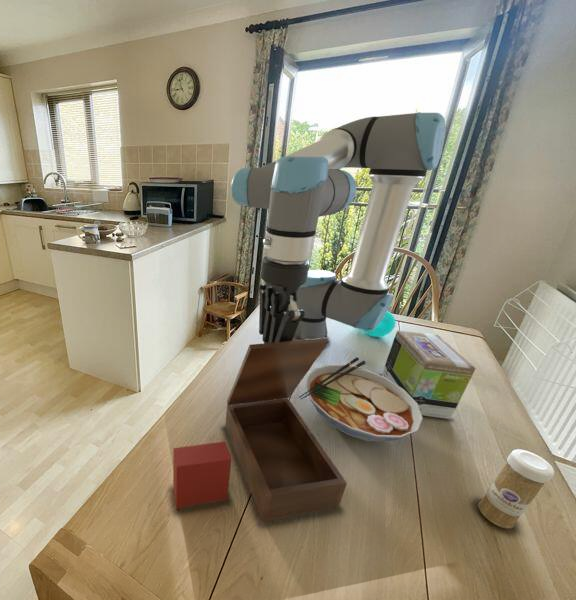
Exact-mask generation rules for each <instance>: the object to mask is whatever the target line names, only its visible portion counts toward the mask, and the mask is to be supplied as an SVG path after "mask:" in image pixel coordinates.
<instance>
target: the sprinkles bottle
mask: <svg viewBox="0 0 576 600" xmlns="http://www.w3.org/2000/svg"><path fill="white" fill-rule="evenodd" d="M554 475H555V470H554V467H553V466H552V465H551V464H550V463H549V461H547V460H545V459H544V458H543V457H541V456H540V455H537V454H536V453H534V452H531V451H528V450H525V449H517V448H516V449H514V450H512V451H511V453H510V454H509V455H508V457H507V460H506V462H505V464H504V466H503V467H502V468H501V470H500V471H499V472H498V473H497V475H496V477H495V478H494V480H493V481H492V483H491V484H490V486H489V488H488V489H487V491H486V493H485V495H484V496H483V498H482V499H481V500H480V501H479V502H478V504H477V507H478V508H477V509H479V512H480V513H481V515H482V516H483V517H484V518H486V519H487V520H488V521H489V522H490V523H492V524H493V525H495V526H497V527H499V528H503V529H507V530H508V529H512V528H514V526H515V525H516V522H517V521H518V520H519V518H520V517H521V516H522V515H523V514H524V513H525V511H526V510H527V509H528V508H529V506H530V505H531V503H533V501H534V499H535V498H536V497H537V496H538V493H539V492H540V490H541V489H542V488H543V487H544V486H545V484H547V483H549V482H550V481H551V479H552V478H553V477H554Z"/></svg>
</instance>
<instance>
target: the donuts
mask: <svg viewBox="0 0 576 600" xmlns="http://www.w3.org/2000/svg"><path fill="white" fill-rule="evenodd" d="M396 323H397V322H396V317H395V316H394V315H393V313H391V312H390V311H389V310H388V311H387V313H386V314H385V316H384V318H383V319H382V321H381V322H380V323H379V325H378V326H377V327H376V328H375V329H373V330H371V331H366V330H362V331H363V332H364V333H365V334H366V335H368V336H370V337H372V338H373V337H374V338H380V337H385V336H387V335H389V334H390V333H391V332H393V330H394V329H395V328H396Z"/></svg>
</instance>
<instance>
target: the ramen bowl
mask: <svg viewBox="0 0 576 600" xmlns="http://www.w3.org/2000/svg"><path fill="white" fill-rule="evenodd" d="M359 360H360V358H359V357H357V356H356V357H354V358H353V359H352V360H350V361H349V362H347V363H346V364H327V365H326V364H325V365H322V366H318V367H315V368H313V369H312V370H311V371H310V372H309V373H307V374H306V377H305V391H306V392H304V393H302V394H301V395H299V396H298V399H300V400H302V399H303V400H304V399H305V398H307V397H309V400H310V401H311V403H312V406H314V409H315V410H316V412H317V413H318V415H320V417H322V418H323V420H325V421H326V422H327V423H328V424H329V425H330V426H332V427H333V428H335V429H337V430H338V431H340V432H342V433H344V434H346V435H347V436H349V437H353V438H356V439H359V440H362V441H366V442H393V441H396V440H399V439H401V438H404V437H406V436H409V435H411V434H414V433H416V432H417V431H419V429H420V426H421V424H422V421H423V419H424V417H423V415H422V414H421V411H420V409H419V406H418V404H417V402H416V401H415V400H414V399H413V398H412V397H411V396H410V395H409V394H408V393H407V392H406V391H405V390H404V389H402V388H401V387H399V386H398V385H396V384H395V383H393V382H392V381H390V380H389V379H387V378H385V377H383V376H382V375H380V374H378V373H375V372H373V371H371V370H369V369H365V368H360V367H362V366H364V365H366V363H367V361H366V360H362V361H360V362H359ZM356 362H358V363H357V364H355V363H356ZM354 364H355V365H354ZM352 365H354V366H352Z"/></svg>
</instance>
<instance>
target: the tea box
mask: <svg viewBox="0 0 576 600" xmlns="http://www.w3.org/2000/svg"><path fill="white" fill-rule="evenodd" d="M475 371H476V367H475V366H474V364H472V363H471V362H469V360H467V359H466V358H465V357H464V356H462V354H461V353H459V352H458V351H457V350H456V349H455V348H454V347H452V346H451V345H450V344H449V343H448V342H447V341H446V340H444V339H443V338H442V337H441V336H440V335H439V334H435V333H424V332H413V331H406V330H405V331H404V330H396V333H395V336H394V338H393V340H392V345H391V346H390V350H389V352H388V355H387V359H386V362H385V364H384V366H383V369H382V373H381V376H383V377H385V378H387V379H389V380H390V381H392V382H393V383H395V384H396V385H398V386H399V387H401V388H402V389H404V390H405V391H406V392H407V393H408V394H409V395H410V396H411V397H412V398H413V399H414V400H415V401H416V402H417V404H418V406H419V409H420V411H421V414H422V416H425V417H431V418H439V419H445V420H446V419H447V420H450V419H452V416H453V415H454V413H455V411H456V409H457V407H458V405H459V404H460V401H461V400H462V397H463V395H464V393H465V391H466V390H467V387H468V384H469V383H470V381H471V379H472V377H473V375H474V373H475Z"/></svg>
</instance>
